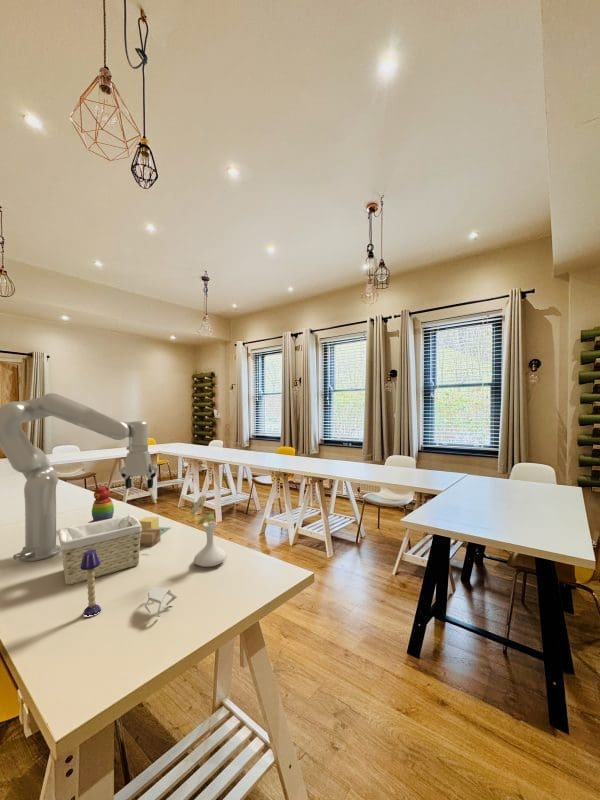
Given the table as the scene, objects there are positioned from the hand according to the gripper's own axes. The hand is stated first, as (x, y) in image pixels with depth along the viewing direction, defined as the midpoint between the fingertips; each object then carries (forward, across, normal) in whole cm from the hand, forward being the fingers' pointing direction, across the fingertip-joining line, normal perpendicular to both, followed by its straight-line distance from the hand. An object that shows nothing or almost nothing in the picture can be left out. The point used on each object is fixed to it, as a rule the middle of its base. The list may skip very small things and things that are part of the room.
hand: (139, 488), depth 149 cm
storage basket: (+21, +2, -30) cm, 36 cm away
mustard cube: (+20, +4, 0) cm, 20 cm away
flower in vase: (+21, +39, -25) cm, 51 cm away
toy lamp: (+21, +17, -55) cm, 61 cm away
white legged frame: (+21, +34, -52) cm, 66 cm away
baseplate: (+21, +4, 0) cm, 21 cm away
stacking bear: (+21, -27, +14) cm, 37 cm away
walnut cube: (+21, +10, -11) cm, 26 cm away
